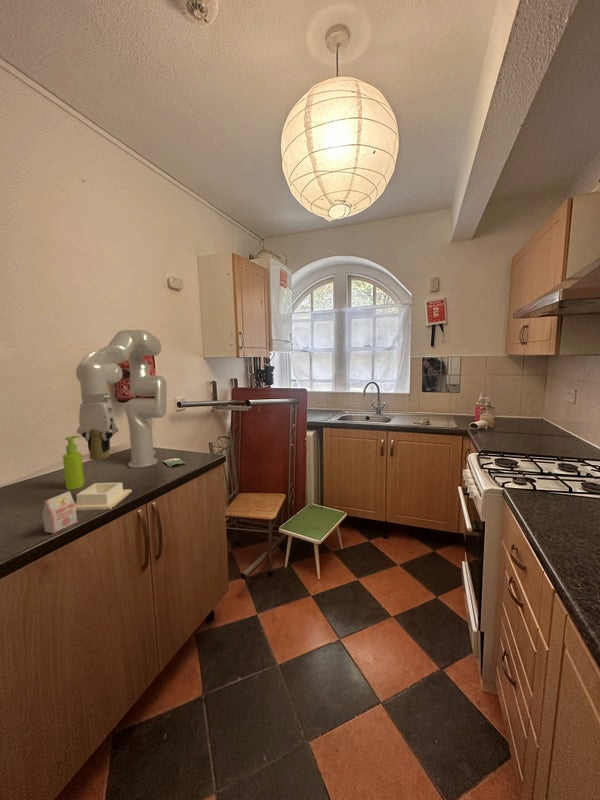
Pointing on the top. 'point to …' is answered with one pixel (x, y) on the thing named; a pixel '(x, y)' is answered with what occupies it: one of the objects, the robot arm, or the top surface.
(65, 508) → the white carton
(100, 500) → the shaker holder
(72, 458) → the soap dispenser
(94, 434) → the cork
